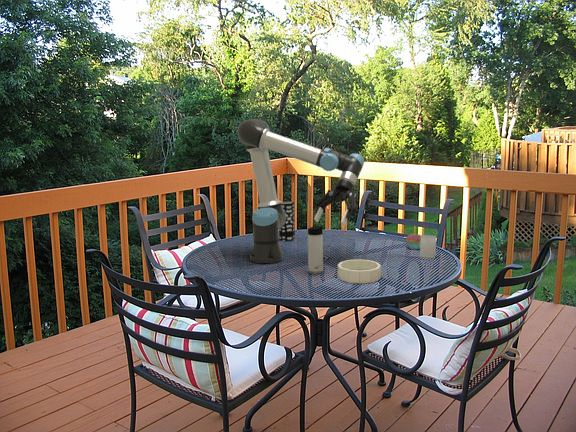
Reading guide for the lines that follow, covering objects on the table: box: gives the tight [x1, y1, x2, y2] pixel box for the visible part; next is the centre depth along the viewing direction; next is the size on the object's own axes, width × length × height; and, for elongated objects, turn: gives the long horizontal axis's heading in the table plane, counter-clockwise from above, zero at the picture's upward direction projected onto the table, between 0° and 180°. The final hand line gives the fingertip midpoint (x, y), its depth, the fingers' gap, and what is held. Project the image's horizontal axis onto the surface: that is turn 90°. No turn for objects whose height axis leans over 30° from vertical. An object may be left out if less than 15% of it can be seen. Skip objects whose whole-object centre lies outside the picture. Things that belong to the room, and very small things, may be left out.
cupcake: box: [405, 226, 422, 250], centre depth 265 cm, size 9×8×12 cm
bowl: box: [337, 258, 382, 285], centre depth 222 cm, size 17×17×5 cm
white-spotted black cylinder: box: [278, 201, 296, 242], centre depth 287 cm, size 8×8×20 cm
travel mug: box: [307, 225, 324, 275], centre depth 228 cm, size 6×7×20 cm
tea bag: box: [419, 234, 437, 259], centre depth 249 cm, size 4×7×10 cm, turn 69°
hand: (329, 222), depth 235 cm, fingers open, 13 cm apart
